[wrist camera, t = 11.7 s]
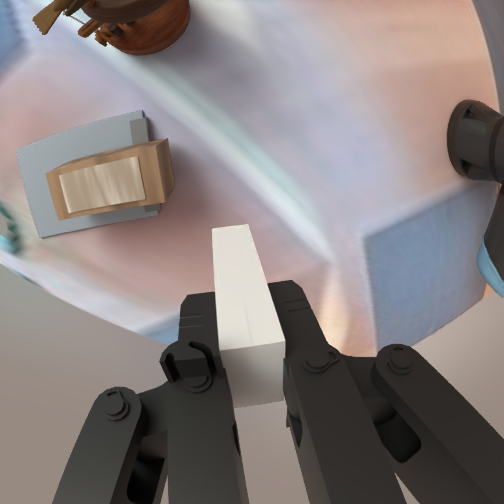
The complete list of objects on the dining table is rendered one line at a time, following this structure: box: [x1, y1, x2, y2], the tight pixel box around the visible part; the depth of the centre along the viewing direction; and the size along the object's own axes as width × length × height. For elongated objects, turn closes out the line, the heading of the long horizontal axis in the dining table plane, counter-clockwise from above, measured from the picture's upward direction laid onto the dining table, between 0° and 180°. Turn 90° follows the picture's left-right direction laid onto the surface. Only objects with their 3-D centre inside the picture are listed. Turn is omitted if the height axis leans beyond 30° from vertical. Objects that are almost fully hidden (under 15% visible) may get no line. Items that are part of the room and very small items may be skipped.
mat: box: [16, 110, 161, 238], centre depth 32 cm, size 20×14×1 cm
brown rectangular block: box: [46, 138, 175, 221], centre depth 29 cm, size 6×6×14 cm
